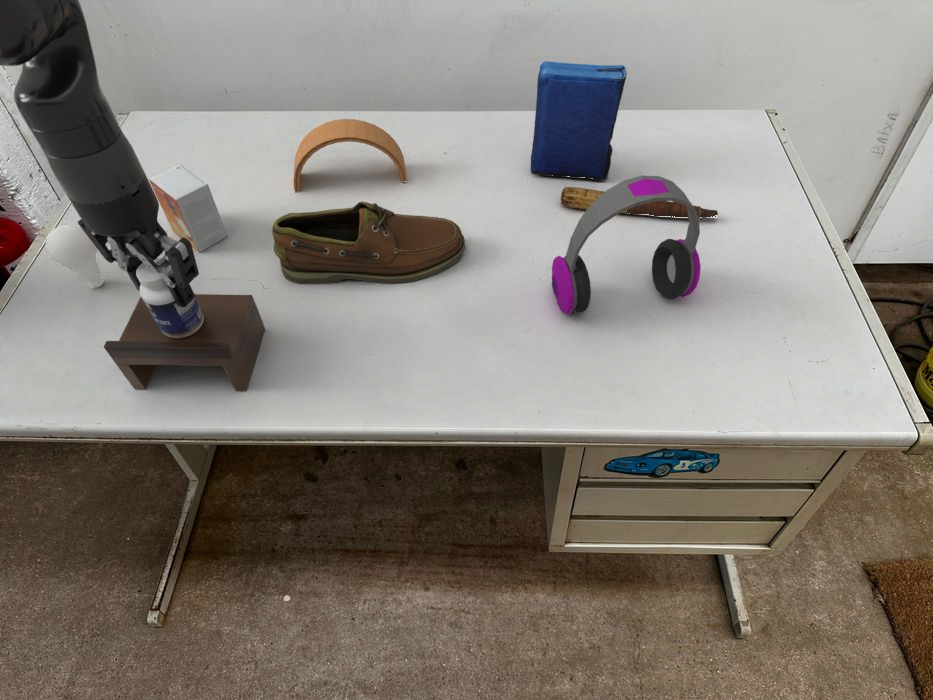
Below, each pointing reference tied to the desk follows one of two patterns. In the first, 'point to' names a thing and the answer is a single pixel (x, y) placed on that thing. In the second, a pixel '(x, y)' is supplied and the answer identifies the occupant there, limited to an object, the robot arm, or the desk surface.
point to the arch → (346, 133)
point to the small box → (189, 207)
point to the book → (576, 119)
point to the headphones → (671, 258)
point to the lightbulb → (75, 253)
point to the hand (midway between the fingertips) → (167, 294)
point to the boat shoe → (364, 245)
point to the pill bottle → (168, 305)
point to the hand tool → (657, 208)
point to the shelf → (193, 341)
